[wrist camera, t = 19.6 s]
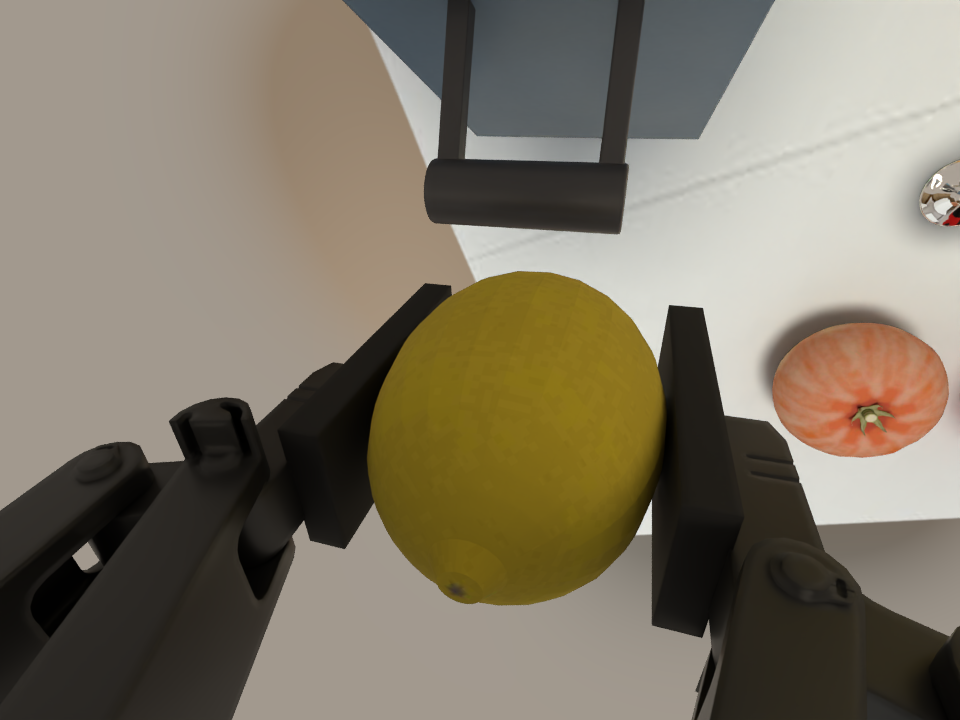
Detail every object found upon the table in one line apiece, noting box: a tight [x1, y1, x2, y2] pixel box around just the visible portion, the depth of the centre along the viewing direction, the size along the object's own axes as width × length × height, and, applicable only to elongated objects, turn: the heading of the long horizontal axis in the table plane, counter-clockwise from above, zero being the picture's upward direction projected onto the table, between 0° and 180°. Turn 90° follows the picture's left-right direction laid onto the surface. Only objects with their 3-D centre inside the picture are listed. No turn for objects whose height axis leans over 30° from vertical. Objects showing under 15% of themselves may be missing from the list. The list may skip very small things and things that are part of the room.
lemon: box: [367, 271, 667, 605], centre depth 10 cm, size 6×6×8 cm
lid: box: [343, 0, 775, 234], centre depth 21 cm, size 16×13×7 cm
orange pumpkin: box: [772, 323, 949, 458], centre depth 38 cm, size 11×11×8 cm
